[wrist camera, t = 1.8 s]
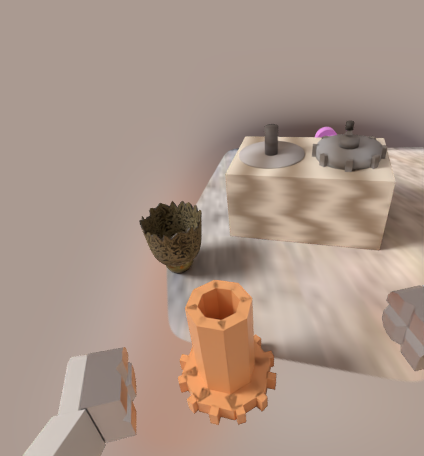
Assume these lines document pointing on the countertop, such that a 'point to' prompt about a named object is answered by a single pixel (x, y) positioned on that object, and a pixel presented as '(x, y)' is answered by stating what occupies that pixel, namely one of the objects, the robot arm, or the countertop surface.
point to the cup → (173, 234)
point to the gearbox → (311, 189)
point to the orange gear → (224, 354)
